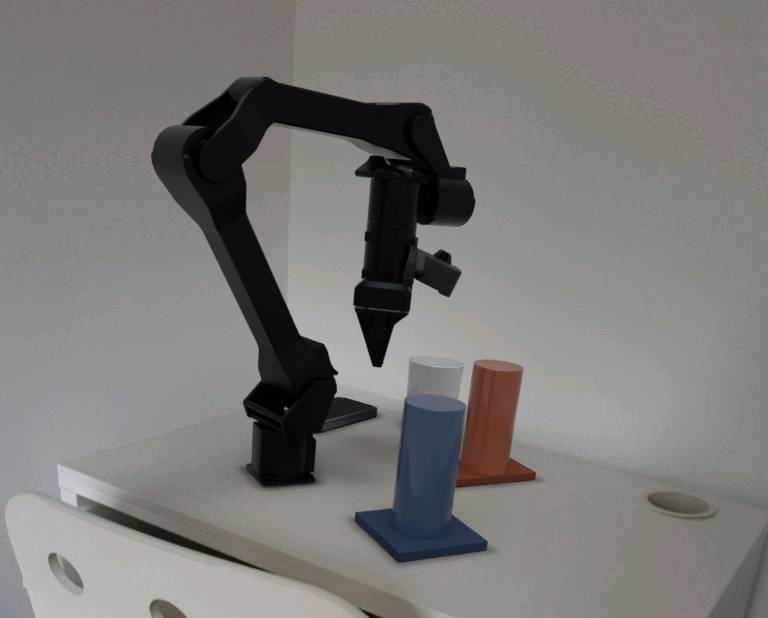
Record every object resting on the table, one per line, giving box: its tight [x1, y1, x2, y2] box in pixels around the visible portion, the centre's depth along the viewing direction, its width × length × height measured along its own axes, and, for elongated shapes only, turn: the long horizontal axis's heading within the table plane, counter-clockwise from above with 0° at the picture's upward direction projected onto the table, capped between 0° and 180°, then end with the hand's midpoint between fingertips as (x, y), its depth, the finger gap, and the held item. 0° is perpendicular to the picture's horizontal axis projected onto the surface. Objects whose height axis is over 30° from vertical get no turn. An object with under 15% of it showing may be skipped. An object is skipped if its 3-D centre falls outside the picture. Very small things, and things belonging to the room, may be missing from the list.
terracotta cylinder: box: [459, 359, 525, 476], centre depth 99 cm, size 6×6×13 cm
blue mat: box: [354, 507, 489, 563], centre depth 83 cm, size 10×10×1 cm
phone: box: [284, 396, 379, 432], centre depth 118 cm, size 8×1×15 cm
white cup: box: [406, 354, 465, 400], centre depth 117 cm, size 8×8×10 cm
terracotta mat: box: [455, 456, 537, 488], centre depth 102 cm, size 12×6×1 cm, turn 117°
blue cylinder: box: [391, 394, 468, 538], centre depth 80 cm, size 6×6×13 cm
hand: (379, 358), depth 98 cm, fingers open, 9 cm apart
